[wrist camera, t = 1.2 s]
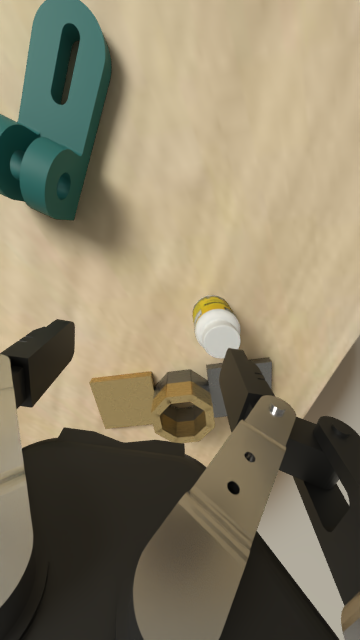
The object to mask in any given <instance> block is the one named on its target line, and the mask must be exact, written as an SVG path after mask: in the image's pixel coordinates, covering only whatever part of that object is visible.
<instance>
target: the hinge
mask: <svg viewBox="0 0 360 640" xmlns="http://www.w3.org/2000/svg"><path fill="white" fill-rule="evenodd" d="M249 361H252V362H253V363H254V364H256V365H257V366H258V367H259V369H260V371H261V372H262V375H263V376H264V378H265V381H267V383H268V385H269V387H270V388H271V378H272V361H271V360H270V359H269V358H262V359H253V360H249ZM222 365H223V363H219V364H211V365H206V367H207V376H208V381H207V380H206V379H204V378H203V377H201V376H200V375H198V374H197V373H195V372H194V371H192V370H182V371H173V372H168V373H167V374H166V375H165V376H164V377H163V378H162V379H161V381H160V382H159V383H158V384H157V385H156V386H155V385H154V381H153V376H152V372H142V373H134V374H125V375H117V376H108V377H100V378H92V379H91V381H90V386H91V389H92V392H93V395H94V397H95V400H96V403H97V406H98V409H99V412H100V415H101V417H102V420H103V423H104V426H105V429H110V428H119V427H129V426H138V425H148V424H153V426H154V430H155V433H156V434H158V435H160V436H162V437H164V438H165V439H167V440H169V441H171V442H175V443H188V442H198V441H200V440H201V439H202V438H203V437H204V436H206V435H207V434H208V433H209V432H210V431H211V430H212V429H213V428H214V427H215V422H214V418H215V417H224V416H227V413H226V409H225V405H224V401H223V397H222V393H221V389H220V384H219V376H220V371H221V368H222ZM183 402H191V403H193V404H194V406H193V407H188V408H179V409H177V408H176V407H174V406H172V405H171V404H174V403H183Z"/></svg>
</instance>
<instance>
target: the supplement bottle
mask: <svg viewBox="0 0 360 640" xmlns="http://www.w3.org/2000/svg"><path fill="white" fill-rule="evenodd" d="M193 322H194V329H195V335H196V338H197V341H198V342H199V344H200V345H201V346H202V347H203V348H204V349H205V350H206V352H207V353H208V354H209V355H211V356H212V357H215V358H225V355H226V351H227V349H228V348H232V349H238V348H239V346H240V324H239V321H238V319H237V317H236V316H235V314H234V313H233V311H232V310H231V308H230V307H229V305H228V303H227V302H226V301H225V300H224V299H223V298H221V297H219V296H215V295H209V296H205V297H203V298H201V299H200V300H199V301H198V302H197V303H196V304H195V306H194V309H193Z"/></svg>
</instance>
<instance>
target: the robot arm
mask: <svg viewBox="0 0 360 640" xmlns="http://www.w3.org/2000/svg"><path fill="white" fill-rule="evenodd" d="M74 345H75V325H74V323H73V322H71V321H65V320H59V319H57V320H55V321H54V322H52V323H51V324H50V325H48V326H47V327H42V328H39V329H36V330H33V331H32V332H30V333H29V334H27V335H26V337H23V338H22V339H20V341H17V342H16V343H15V344H13V345H12V346H10V347H9V348H7V349H6V350H4V351H3V352H2V353H0V640H339V638H338V637H337V636H336V634H335V633H334V632H333V630H332V629H331V628H330V626H329V625H328V624H327V622H326V621H325V620H324V618H323V617H322V616H321V615H320V613H319V612H318V611H317V609H316V608H315V607H314V605H313V604H312V603H311V602H310V600H309V599H308V598H307V596H306V595H305V594H304V592H303V591H302V590H301V588H300V587H299V586H298V584H297V583H296V582H295V581H294V579H293V578H292V577H291V575H290V574H289V573H288V571H287V570H286V569H285V567H284V566H283V565H282V564H281V562H280V561H279V560H278V558H277V557H276V556H275V554H274V553H273V552H272V550H271V549H270V548H269V547H268V545H267V544H266V543H265V541H264V540H263V539H262V538H261V536H260V535H259V533H258V532H257V528H258V525H259V522H260V520H261V517H262V514H263V511H264V509H265V506H266V503H267V500H268V498H269V495H270V492H271V489H272V487H273V484H274V481H275V478H276V476H277V473H278V470H280V471H283V472H285V473H287V474H290V475H292V476H293V478H294V480H295V483H296V485H297V488H298V490H299V493H300V495H301V497H302V500H303V503H304V505H305V508H306V510H307V513H308V515H309V518H310V520H311V523H312V525H313V528H314V530H315V533H316V535H317V538H318V540H319V543H320V546H321V548H322V551H323V553H324V556H325V558H326V561H327V563H328V566H329V568H330V571H331V573H332V576H333V578H334V581H335V583H336V586H337V588H338V591H339V593H340V596H341V598H342V601H343V603H344V608H343V610H342V615H341V624H342V630H343V635H344V638H345V640H360V436H359V435H358V434H357V433H356V432H355V431H354V430H353V429H352V428H351V427H350V426H348V425H347V424H345V423H344V422H342V421H340V420H338V419H335V418H333V417H329V416H323V417H320V419H319V420H318V422H317V424H314V423H311V422H309V421H306V420H303V419H301V418H298V417H296V413H295V411H294V409H293V408H292V407H291V406H290V405H289V404H288V403H287V402H285V401H284V400H282V399H280V398H278V397H275V396H274V394H273V392H272V390H271V388H270V387H269V385H268V383H267V381H265V378H264V376H263V375H262V372H261V371H260V369H259V367H258V366H257V365H256V364H254V363H253V362H252V361H249V360H248V359H247V357H246V355H245V353H244V351H243V350H238V349H232V348H228V349H227V351H226V355H225V358H224V361H223V365H222V368H221V371H220V376H219V384H220V389H221V393H222V397H223V401H224V405H225V409H226V413H227V417H228V421H229V425H230V429H231V435H230V436H229V437H228V439H227V440H226V441H225V443H224V444H223V446H222V447H221V448H220V450H219V451H218V453H217V454H216V455H215V457H214V458H213V460H212V461H211V462H210V464H209V465H208V467H207V468H206V467H205V466H204V465H203V464H202V463H200V462H199V461H197V460H196V459H194V458H192V457H190V456H188V455H186V454H185V449H184V444H183V443H175V442H168V441H160V440H149V441H139V442H128V443H123V442H120V441H117V440H114V439H112V438H109V437H107V436H104V435H102V434H99V433H97V432H94V431H86V430H79V429H71V428H63V430H62V432H61V434H60V435H59V437H58V438H52V439H47V440H43V441H39V442H36V443H34V444H31V445H28V446H26V447H24V448H22V447H21V440H20V432H19V425H18V417H17V409H18V407H19V406H25V407H33V406H34V405H35V403H36V402H37V401H38V400H39V399H40V397H41V396H42V395H43V394H44V393H45V391H46V390H47V389H48V388H49V386H50V385H51V384H52V383H53V382H54V380H55V379H56V378H57V377H58V376H59V374H60V373H61V372H62V371H63V370H64V368H65V367H66V366H67V365H68V364H69V362H70V361H71V359H72V357H73V354H74ZM339 479H340V481H341V483H342V484H343V486H344V488H345V490H346V491H347V493H348V497H349V502H350V506H349V505H348V503H347V502H346V500H345V499H344V496H343V494H342V493H341V491H340V489H339V487H338V486H337V484H336V483H337V481H338V480H339Z"/></svg>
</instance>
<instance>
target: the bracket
mask: <svg viewBox="0 0 360 640" xmlns="http://www.w3.org/2000/svg"><path fill="white" fill-rule="evenodd" d="M76 41H80V43H79V48H78V53H77V57H76V62H75V67H74V72H73V76H72V81H71V86H70V91H69V95H68V100H67V102H66V103H65V104H63V105H61V99H62V94H63V89H64V84H65V79H66V74H67V69H68V64H69V59H70V54H71V49H72V45H73V44H74V42H76ZM110 78H111V57H110V52H109V49H108V46H107V43H106V41H105V38H104V36H103V33H102V31H101V28H100V26H99V24H98V22H97V20H96V18H95V16H94V15H93V14H92V12H91V11H90V10H89V8H88V7H87V6H86V5H85V4H83V3H82V2H81V1H79V0H46V1H45V2H44V3H43V4H42V5H41V6H40V7H39V9H38V11H37V13H36V15H35V18H34V21H33V26H32V32H31V39H30V45H29V52H28V59H27V65H26V72H25V79H24V85H23V92H22V99H21V105H20V112H19V119H18V122H15V121H13V120H11V119H9V118H7V117H5V116H3V115H1V114H0V194H2V195H4V196H6V197H8V198H10V199H13V200H19V201H25V202H26V204H27V205H28V206H29V207H30V208H32V209H34V210H37V211H39V212H41V213H43V214H45V215H47V216H50V217H52V218H54V219H62V220H74V218H75V214H76V210H77V206H78V202H79V198H80V195H81V191H82V187H83V183H84V179H85V175H86V171H87V168H88V164H89V160H90V156H91V152H92V148H93V144H94V140H95V137H96V133H97V129H98V125H99V121H100V117H101V113H102V109H103V106H104V102H105V98H106V94H107V90H108V86H109V82H110Z"/></svg>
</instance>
